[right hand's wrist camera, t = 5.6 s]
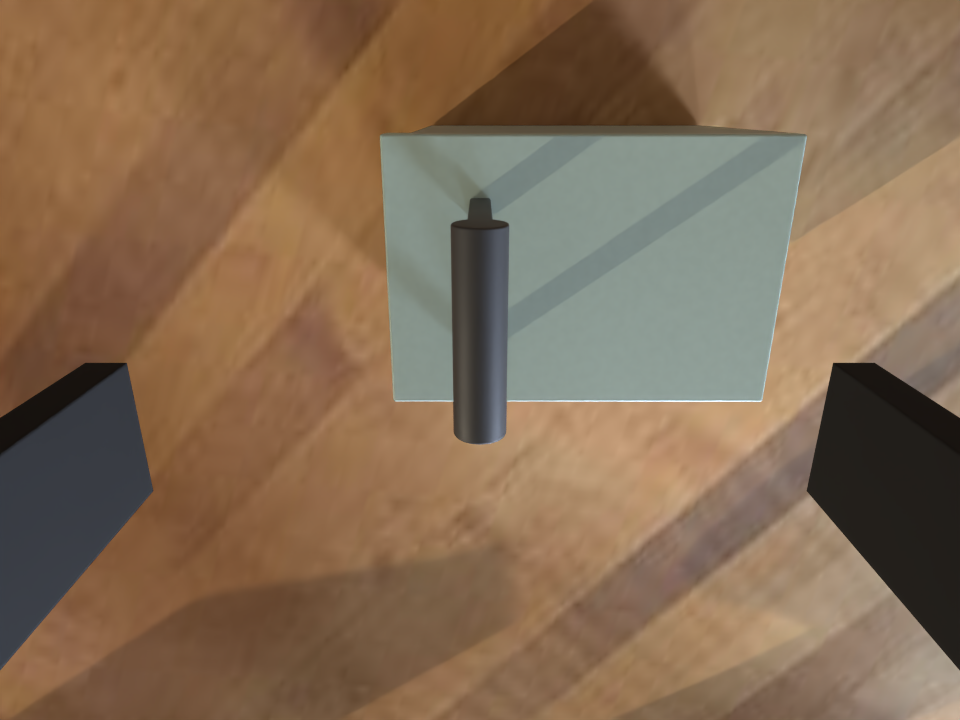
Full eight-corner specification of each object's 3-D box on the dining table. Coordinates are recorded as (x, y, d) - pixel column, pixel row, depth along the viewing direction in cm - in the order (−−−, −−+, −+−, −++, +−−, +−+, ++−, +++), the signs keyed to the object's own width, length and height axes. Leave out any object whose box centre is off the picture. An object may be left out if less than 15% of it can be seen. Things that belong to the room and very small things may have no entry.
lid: (397, 388, 26) (362, 504, 18) (384, 132, 22) (335, 145, 15) (750, 389, 26) (861, 505, 18) (791, 132, 22) (949, 144, 15)
